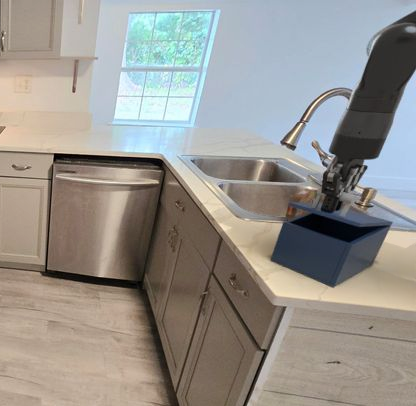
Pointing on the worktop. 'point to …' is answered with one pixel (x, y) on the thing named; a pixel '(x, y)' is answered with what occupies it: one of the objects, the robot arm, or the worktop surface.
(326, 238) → the blue box
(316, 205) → the box lid
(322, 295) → the worktop surface
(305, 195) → the tin
